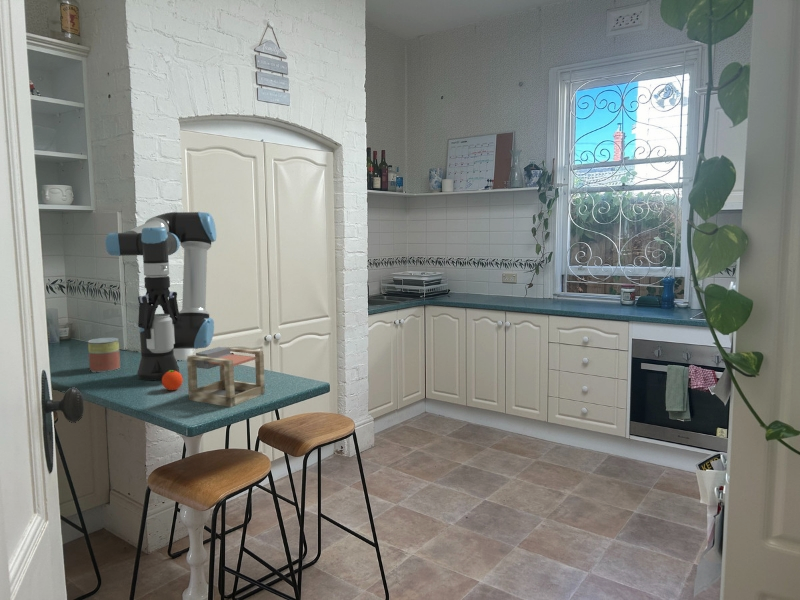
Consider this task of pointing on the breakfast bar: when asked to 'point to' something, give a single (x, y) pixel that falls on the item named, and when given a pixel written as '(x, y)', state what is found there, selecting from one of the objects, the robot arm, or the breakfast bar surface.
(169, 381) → the clementine
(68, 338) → the breakfast bar surface
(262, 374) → the frame
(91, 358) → the canned food
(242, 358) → the grey and pink block
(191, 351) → the mug
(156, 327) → the can
